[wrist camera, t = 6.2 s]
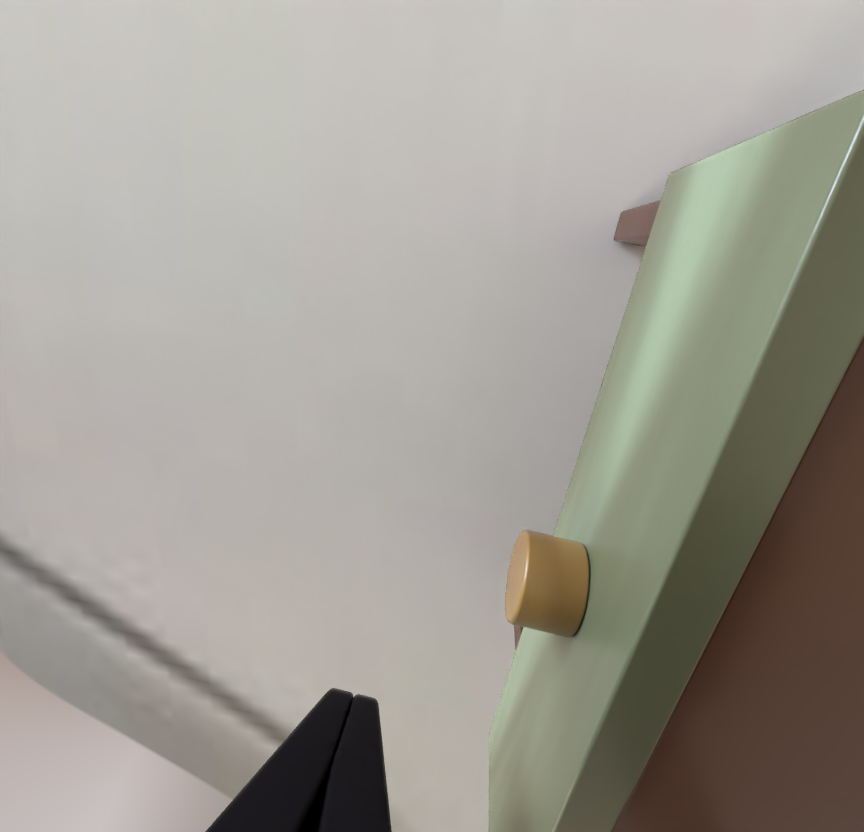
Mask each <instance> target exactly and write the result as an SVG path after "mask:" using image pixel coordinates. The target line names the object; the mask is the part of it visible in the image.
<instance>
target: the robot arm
mask: <svg viewBox="0 0 864 832" xmlns="http://www.w3.org/2000/svg"><path fill="white" fill-rule="evenodd" d="M206 832H392V831H391V822H390V812H389V803H388V793H387V783H386V774H385V764H384V755H383V745H382V735H381V726H380V716H379V707H378V702H377V700H376V699H375V698H372V697H368V696H364V695H360V694H357V695H355V696H354V698H353V694H352V693H351V692H348V691H344V690H340V689H336V688H332V689H330V690H329V691H328V692H327V693H326V694H325V695H324V696H323V697H322V698H321V700H320V701H319V702H318V703H317V704H316V705H315V706H314V708H313V709H312V710H311V711H310V712H309V713H308V714H307V716H306V717H305V718H304V719H303V720H302V721H301V722H300V724H299V725H298V726H297V727H296V728H295V729H294V731H293V732H292V733H291V734H290V735H289V736H288V737H287V739H286V740H285V741H284V742H283V743H282V744H281V745H280V747H279V748H278V749H277V750H276V751H275V752H274V754H273V755H272V756H271V757H270V758H269V759H268V760H267V762H266V763H265V764H264V765H263V766H262V767H261V768H260V770H259V771H258V772H257V773H256V774H255V775H254V777H253V778H252V779H251V780H250V781H249V782H248V783H247V785H246V786H245V787H244V788H243V789H242V790H241V791H240V793H239V794H238V795H237V796H236V797H235V798H234V799H233V801H232V802H231V803H230V804H229V805H228V806H227V808H226V809H225V810H224V811H223V812H222V813H221V814H220V816H219V817H218V818H217V819H216V820H215V821H214V822H213V824H212V825H211V826H210V827H209V828H208V829H207V831H206Z"/></svg>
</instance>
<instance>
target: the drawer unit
mask: <svg viewBox="0 0 864 832" xmlns="http://www.w3.org/2000/svg"><path fill="white" fill-rule="evenodd" d="M660 201H661V200H660ZM660 201H657V202H653V203H650V204H646V205H643V206H640V207H636V208H633V209H629V210H626V211H623V212H622V213H621V215H620V218H619V222H618V225H617V229H616V232H615V235H614V240H615V241H617V242H622V243H628V244H633V245H647V242H648V239H649V236H650V233H651V229H652V226H653V223H654V220H655V217H656V214H657V211H658V208H659V205H660ZM522 630H523V627H521V626H517V625H514V631H515V650H516V649H517V646H518V643H519V640H520V637H521V634H522ZM612 832H864V337H863V339H862V341H861V343H860V345H859V347H858V349H857V351H856V353H855V355H854V357H853V359H852V361H851V363H850V365H849V367H848V369H847V371H846V373H845V375H844V377H843V378H842V380H841V382H840V384H839V386H838V388H837V390H836V392H835V394H834V396H833V398H832V400H831V402H830V404H829V406H828V408H827V410H826V412H825V414H824V416H823V418H822V420H821V422H820V424H819V426H818V428H817V430H816V432H815V434H814V436H813V437H812V439H811V441H810V443H809V445H808V447H807V449H806V451H805V453H804V455H803V457H802V459H801V461H800V463H799V465H798V467H797V469H796V471H795V473H794V475H793V477H792V479H791V481H790V483H789V485H788V487H787V489H786V491H785V493H784V494H783V496H782V498H781V500H780V502H779V504H778V506H777V508H776V510H775V512H774V514H773V516H772V518H771V520H770V522H769V524H768V526H767V528H766V530H765V532H764V534H763V536H762V538H761V540H760V542H759V544H758V546H757V548H756V550H755V552H754V553H753V555H752V557H751V559H750V561H749V563H748V565H747V567H746V569H745V571H744V573H743V575H742V577H741V579H740V581H739V583H738V585H737V587H736V589H735V591H734V593H733V595H732V597H731V599H730V601H729V603H728V605H727V607H726V609H725V610H724V612H723V614H722V616H721V618H720V620H719V622H718V624H717V626H716V628H715V630H714V632H713V634H712V636H711V638H710V640H709V642H708V644H707V646H706V648H705V650H704V652H703V654H702V656H701V658H700V660H699V662H698V664H697V666H696V667H695V669H694V671H693V673H692V675H691V677H690V679H689V681H688V683H687V685H686V687H685V689H684V691H683V693H682V695H681V697H680V699H679V701H678V703H677V705H676V707H675V709H674V711H673V713H672V715H671V717H670V719H669V721H668V723H667V725H666V726H665V728H664V730H663V732H662V734H661V736H660V738H659V740H658V742H657V744H656V746H655V748H654V750H653V752H652V754H651V756H650V758H649V760H648V762H647V764H646V766H645V768H644V770H643V772H642V774H641V776H640V778H639V780H638V782H637V783H636V785H635V787H634V789H633V791H632V793H631V795H630V797H629V799H628V801H627V803H626V805H625V807H624V809H623V811H622V813H621V815H620V817H619V819H618V821H617V823H616V825H615V827H614V829H613V831H612Z"/></svg>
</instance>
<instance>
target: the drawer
mask: <svg viewBox="0 0 864 832" xmlns="http://www.w3.org/2000/svg"><path fill="white" fill-rule="evenodd" d="M863 337H864V90H861V91H859V92H857V93H854V94H852V95H850V96H847V97H845V98H843V99H840V100H838V101H836V102H834V103H831V104H829V105H827V106H824V107H822V108H820V109H817V110H815V111H813V112H810V113H808V114H806V115H804V116H801V117H799V118H797V119H794V120H792V121H790V122H787V123H785V124H783V125H780V126H778V127H776V128H773V129H771V130H769V131H767V132H764V133H762V134H760V135H757V136H755V137H753V138H750V139H748V140H746V141H743V142H741V143H739V144H737V145H734V146H732V147H730V148H727V149H725V150H723V151H720V152H718V153H716V154H713V155H711V156H709V157H706V158H704V159H702V160H700V161H697V162H695V163H693V164H690V165H688V166H686V167H683V168H681V169H679V170H676V171H674V172H672V173H670V175H669V177H668V180H667V183H666V186H665V189H664V192H663V195H662V198H661V201H660V205H659V208H658V211H657V214H656V217H655V220H654V223H653V226H652V229H651V233H650V236H649V239H648V242H647V245H646V248H645V251H644V254H643V257H642V261H641V264H640V267H639V270H638V273H637V276H636V279H635V282H634V285H633V288H632V292H631V295H630V298H629V301H628V304H627V307H626V310H625V313H624V316H623V320H622V323H621V326H620V329H619V332H618V335H617V338H616V341H615V344H614V348H613V351H612V354H611V357H610V360H609V363H608V366H607V369H606V372H605V376H604V379H603V382H602V385H601V388H600V391H599V394H598V397H597V400H596V403H595V407H594V410H593V413H592V416H591V419H590V422H589V425H588V428H587V431H586V435H585V438H584V441H583V444H582V447H581V450H580V453H579V456H578V459H577V463H576V466H575V469H574V472H573V475H572V478H571V481H570V484H569V487H568V491H567V494H566V497H565V500H564V503H563V506H562V509H561V512H560V515H559V519H558V522H557V525H556V528H555V531H554V534H553V536H551V535H547V534H542V533H538V532H533V531H529V530H524V531H522V532H521V533H520V535H519V537H518V539H517V541H516V544H515V546H514V550H513V553H512V557H511V562H510V566H509V572H508V578H507V586H506V598H505V610H506V617H507V620H508V622H509V623H511V624H513V625H517V626H521V627H523V630H522V634H521V637H520V640H519V643H518V646H517V649H516V652H515V655H514V658H513V661H512V665H511V668H510V671H509V674H508V677H507V680H506V683H505V686H504V689H503V693H502V696H501V699H500V702H499V705H498V708H497V711H496V714H495V717H494V721H493V724H492V727H491V730H490V743H489V832H612V831H613V829H614V827H615V825H616V823H617V821H618V819H619V817H620V815H621V813H622V811H623V809H624V807H625V805H626V803H627V801H628V799H629V797H630V795H631V793H632V791H633V789H634V787H635V785H636V783H637V782H638V780H639V778H640V776H641V774H642V772H643V770H644V768H645V766H646V764H647V762H648V760H649V758H650V756H651V754H652V752H653V750H654V748H655V746H656V744H657V742H658V740H659V738H660V736H661V734H662V732H663V730H664V728H665V726H666V725H667V723H668V721H669V719H670V717H671V715H672V713H673V711H674V709H675V707H676V705H677V703H678V701H679V699H680V697H681V695H682V693H683V691H684V689H685V687H686V685H687V683H688V681H689V679H690V677H691V675H692V673H693V671H694V669H695V667H696V666H697V664H698V662H699V660H700V658H701V656H702V654H703V652H704V650H705V648H706V646H707V644H708V642H709V640H710V638H711V636H712V634H713V632H714V630H715V628H716V626H717V624H718V622H719V620H720V618H721V616H722V614H723V612H724V610H725V609H726V607H727V605H728V603H729V601H730V599H731V597H732V595H733V593H734V591H735V589H736V587H737V585H738V583H739V581H740V579H741V577H742V575H743V573H744V571H745V569H746V567H747V565H748V563H749V561H750V559H751V557H752V555H753V553H754V552H755V550H756V548H757V546H758V544H759V542H760V540H761V538H762V536H763V534H764V532H765V530H766V528H767V526H768V524H769V522H770V520H771V518H772V516H773V514H774V512H775V510H776V508H777V506H778V504H779V502H780V500H781V498H782V496H783V494H784V493H785V491H786V489H787V487H788V485H789V483H790V481H791V479H792V477H793V475H794V473H795V471H796V469H797V467H798V465H799V463H800V461H801V459H802V457H803V455H804V453H805V451H806V449H807V447H808V445H809V443H810V441H811V439H812V437H813V436H814V434H815V432H816V430H817V428H818V426H819V424H820V422H821V420H822V418H823V416H824V414H825V412H826V410H827V408H828V406H829V404H830V402H831V400H832V398H833V396H834V394H835V392H836V390H837V388H838V386H839V384H840V382H841V380H842V378H843V377H844V375H845V373H846V371H847V369H848V367H849V365H850V363H851V361H852V359H853V357H854V355H855V353H856V351H857V349H858V347H859V345H860V343H861V341H862V339H863Z"/></svg>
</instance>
